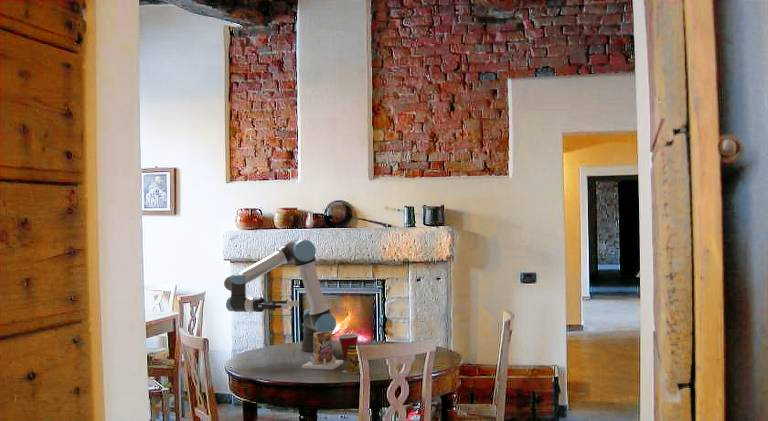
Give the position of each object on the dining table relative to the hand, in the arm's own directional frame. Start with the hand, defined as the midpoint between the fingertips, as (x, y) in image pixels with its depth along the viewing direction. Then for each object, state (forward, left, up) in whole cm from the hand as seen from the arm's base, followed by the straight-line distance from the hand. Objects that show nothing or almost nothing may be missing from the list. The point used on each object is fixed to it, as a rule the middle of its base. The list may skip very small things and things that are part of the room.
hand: (293, 305), depth 327 cm
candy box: (-5, +15, -29) cm, 33 cm away
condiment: (-2, +36, -30) cm, 47 cm away
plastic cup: (-28, +13, -30) cm, 43 cm away
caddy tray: (-5, +15, -30) cm, 34 cm away
